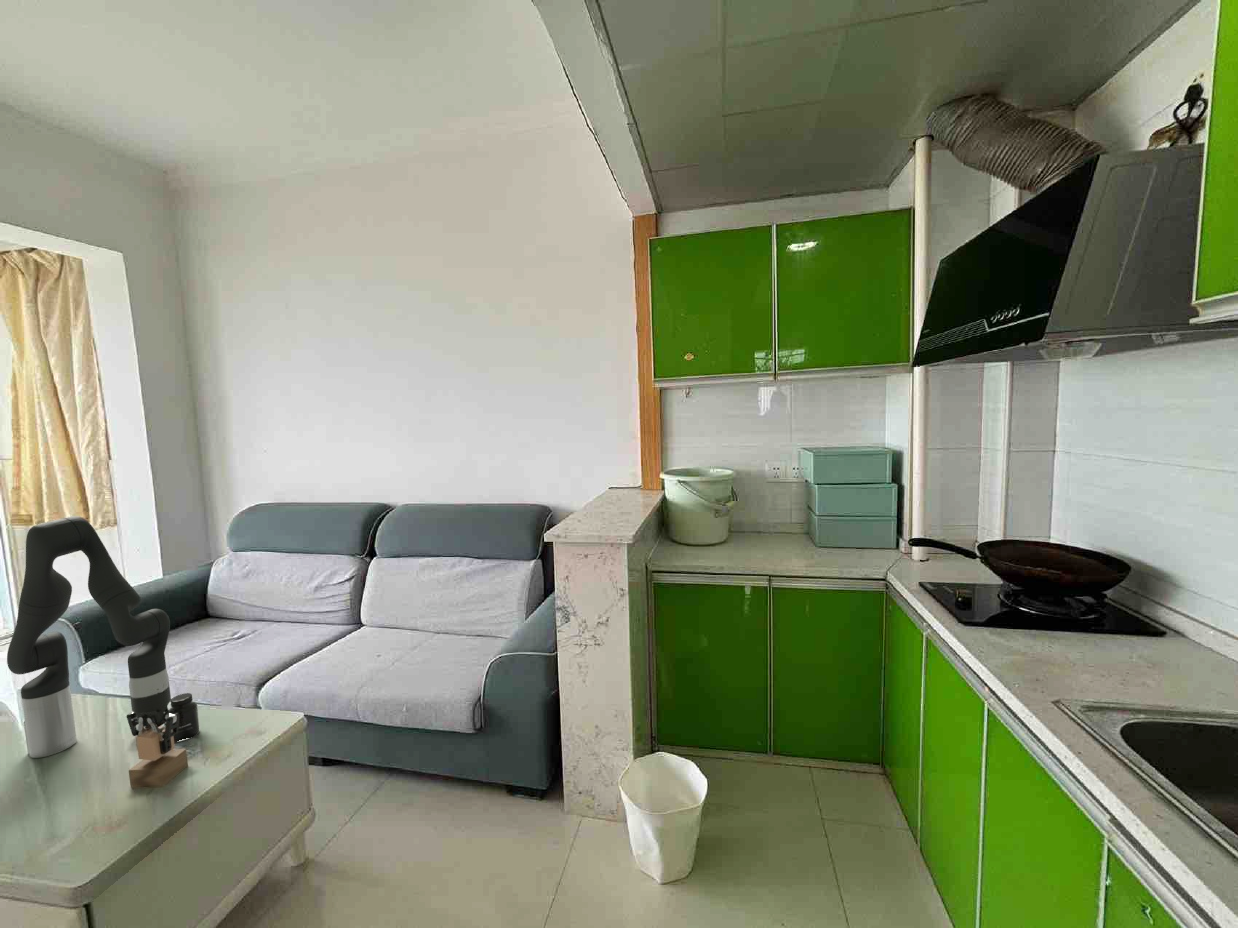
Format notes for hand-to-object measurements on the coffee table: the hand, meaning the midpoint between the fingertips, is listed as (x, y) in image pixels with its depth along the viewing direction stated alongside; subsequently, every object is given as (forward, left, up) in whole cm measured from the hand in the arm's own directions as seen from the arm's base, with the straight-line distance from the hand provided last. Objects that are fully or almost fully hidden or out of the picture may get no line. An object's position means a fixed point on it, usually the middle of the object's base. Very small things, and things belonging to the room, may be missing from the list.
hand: (157, 750), depth 136 cm
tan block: (0, 0, -1) cm, 1 cm away
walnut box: (0, 0, -7) cm, 7 cm away
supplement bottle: (-11, +16, -7) cm, 21 cm away
